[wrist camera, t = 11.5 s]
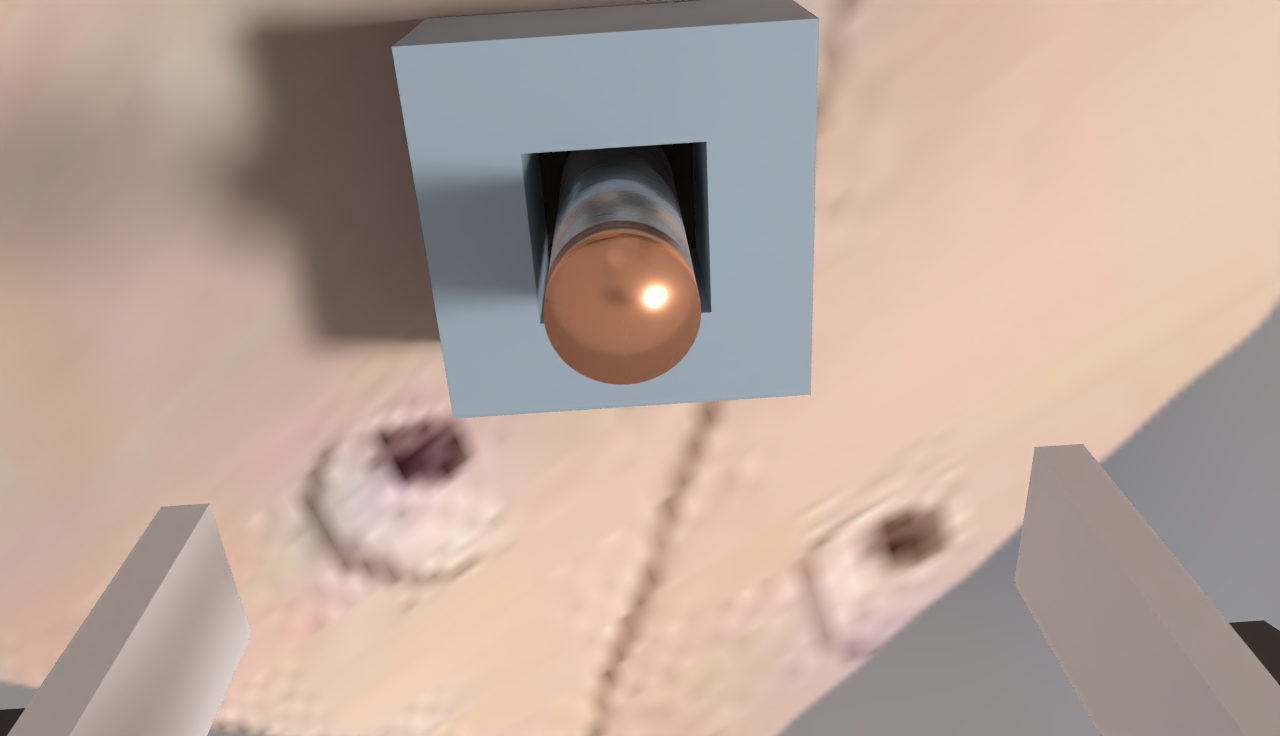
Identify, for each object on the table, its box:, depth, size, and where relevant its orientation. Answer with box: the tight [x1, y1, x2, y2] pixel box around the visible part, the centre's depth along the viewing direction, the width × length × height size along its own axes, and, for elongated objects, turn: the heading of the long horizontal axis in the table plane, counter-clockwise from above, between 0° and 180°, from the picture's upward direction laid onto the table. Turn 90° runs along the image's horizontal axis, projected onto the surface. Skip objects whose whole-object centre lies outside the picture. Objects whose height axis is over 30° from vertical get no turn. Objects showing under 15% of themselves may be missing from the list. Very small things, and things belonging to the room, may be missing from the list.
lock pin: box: [543, 145, 701, 385], centre depth 30 cm, size 4×4×12 cm
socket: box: [392, 0, 819, 418], centre depth 33 cm, size 12×12×6 cm
